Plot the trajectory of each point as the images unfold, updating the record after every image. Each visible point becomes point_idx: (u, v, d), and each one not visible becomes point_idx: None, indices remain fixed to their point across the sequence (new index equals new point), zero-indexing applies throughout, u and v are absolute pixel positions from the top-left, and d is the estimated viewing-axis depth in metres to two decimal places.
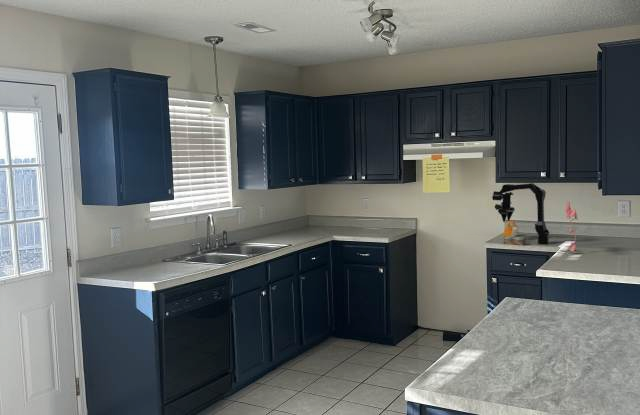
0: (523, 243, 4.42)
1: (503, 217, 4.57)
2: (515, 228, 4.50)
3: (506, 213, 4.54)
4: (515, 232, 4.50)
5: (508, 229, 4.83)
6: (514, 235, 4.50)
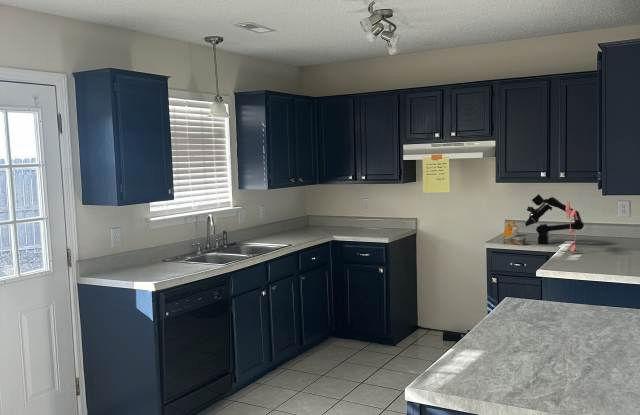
0: (523, 243, 4.42)
1: (529, 222, 4.42)
2: (515, 228, 4.50)
3: (535, 222, 4.39)
4: (515, 232, 4.50)
5: (508, 229, 4.83)
6: (514, 235, 4.50)
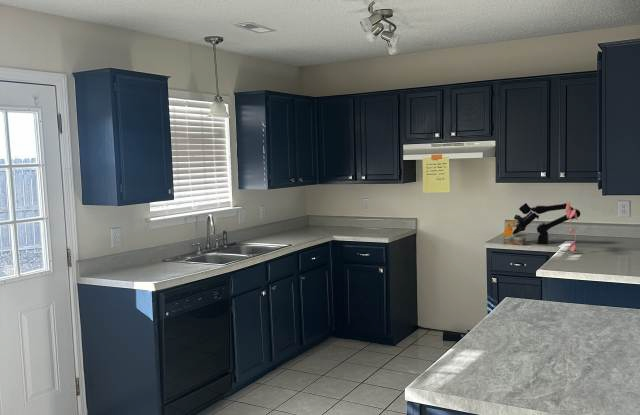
0: (523, 243, 4.42)
1: (516, 230, 4.48)
2: (515, 228, 4.50)
3: (522, 230, 4.45)
4: None
5: (508, 229, 4.83)
6: (514, 235, 4.50)
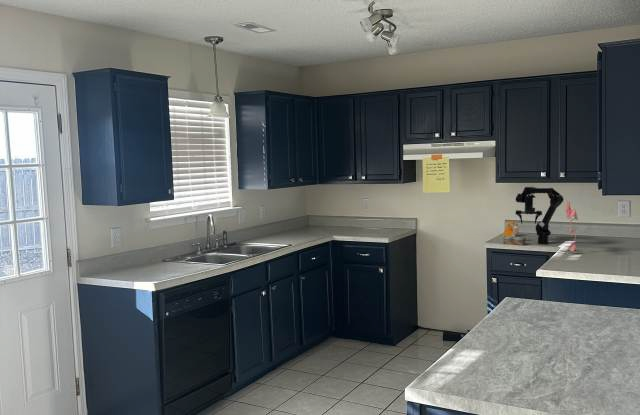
0: (523, 243, 4.42)
1: (536, 219, 4.55)
2: (516, 227, 4.56)
3: None
4: (516, 231, 4.57)
5: (508, 229, 4.83)
6: (515, 234, 4.57)
